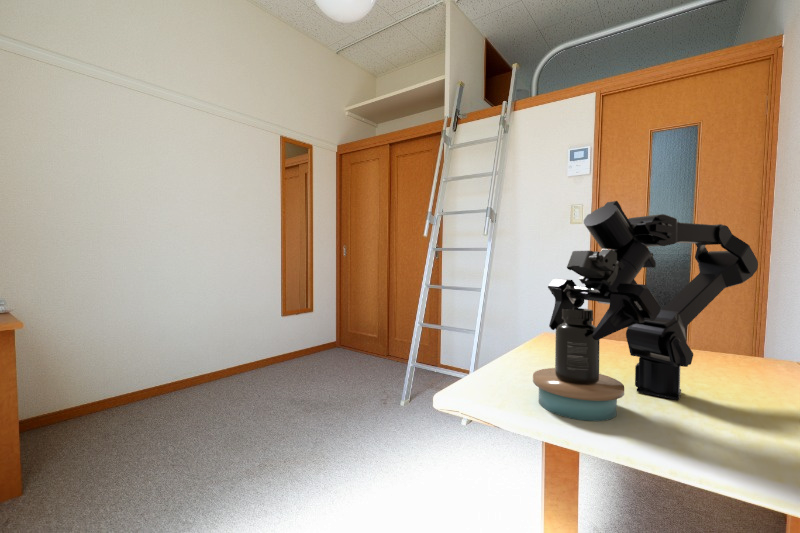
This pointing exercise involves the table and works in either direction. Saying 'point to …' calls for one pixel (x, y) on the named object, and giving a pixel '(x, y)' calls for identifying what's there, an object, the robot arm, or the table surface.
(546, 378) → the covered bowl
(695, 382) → the table surface
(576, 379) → the supplement bottle
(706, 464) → the table surface
